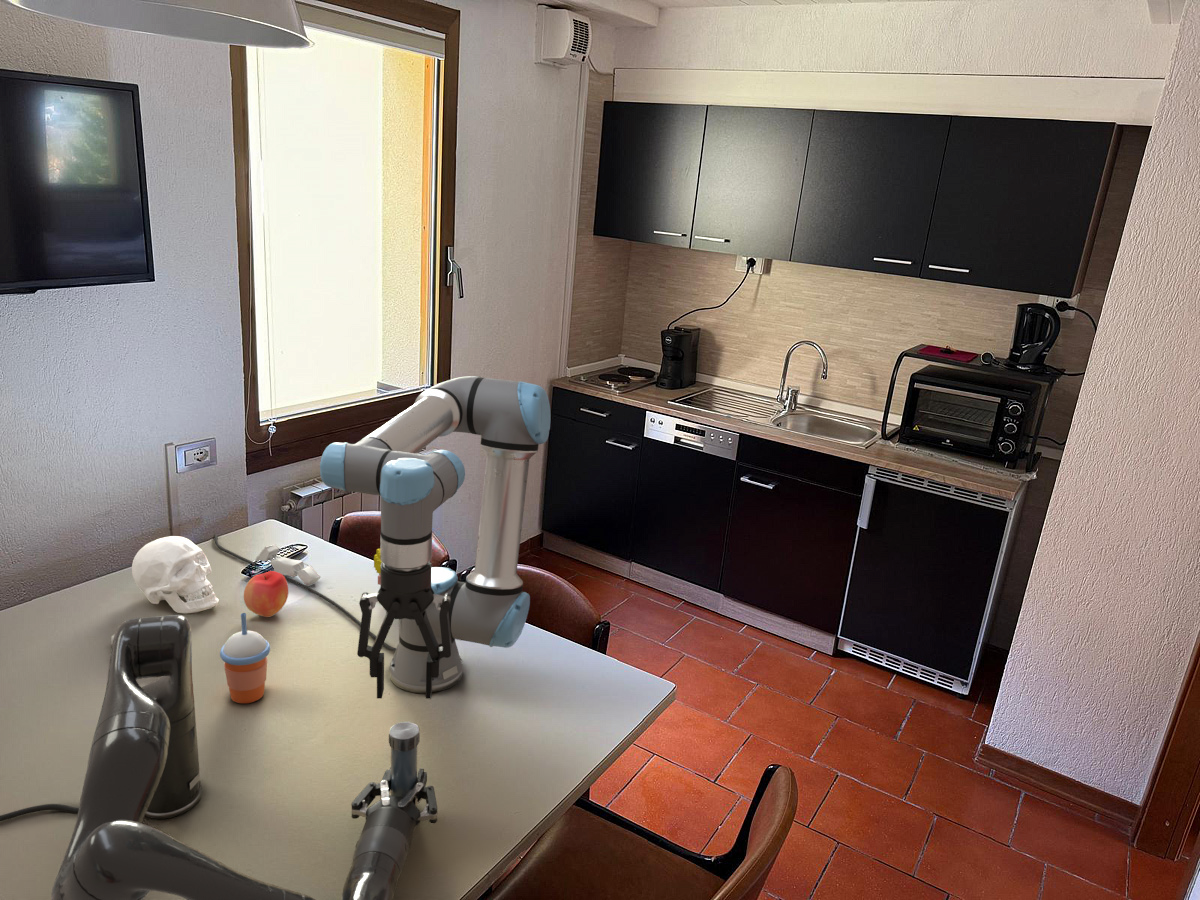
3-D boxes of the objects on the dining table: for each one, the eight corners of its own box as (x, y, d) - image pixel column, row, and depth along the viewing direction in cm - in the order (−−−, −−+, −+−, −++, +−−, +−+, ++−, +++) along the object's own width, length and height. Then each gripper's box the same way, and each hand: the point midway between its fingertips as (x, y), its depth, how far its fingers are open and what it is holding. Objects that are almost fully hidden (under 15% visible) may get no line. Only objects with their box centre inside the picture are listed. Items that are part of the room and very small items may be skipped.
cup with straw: (255, 711, 165) (250, 629, 160) (212, 703, 167) (207, 621, 161) (281, 686, 174) (278, 607, 168) (240, 678, 175) (236, 599, 170)
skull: (197, 623, 194) (195, 558, 190) (119, 603, 200) (115, 540, 196) (237, 600, 207) (236, 539, 203) (163, 582, 212) (160, 522, 208)
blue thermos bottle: (389, 807, 143) (389, 726, 139) (414, 803, 145) (415, 723, 140) (391, 825, 140) (392, 742, 135) (417, 820, 141) (419, 738, 136)
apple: (273, 600, 207) (272, 562, 204) (297, 613, 202) (296, 575, 199) (237, 614, 200) (234, 575, 197) (261, 628, 194) (259, 588, 191)
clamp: (253, 565, 223) (254, 542, 221) (265, 560, 226) (266, 537, 224) (309, 593, 215) (310, 569, 213) (320, 588, 218) (321, 564, 216)
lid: (387, 735, 139) (387, 723, 139) (417, 731, 141) (417, 719, 140) (390, 753, 135) (390, 741, 134) (421, 749, 137) (421, 737, 136)
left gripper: (334, 865, 128) (365, 787, 144) (430, 871, 128) (449, 793, 144) (334, 823, 125) (364, 750, 142) (431, 830, 126) (450, 755, 142)
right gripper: (473, 552, 133) (468, 680, 140) (342, 549, 131) (344, 680, 138) (471, 573, 126) (466, 707, 133) (334, 570, 124) (336, 707, 130)
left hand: (407, 772), depth 143 cm, fingers closed on blue thermos bottle, 4 cm apart
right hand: (404, 693), depth 135 cm, fingers open, 7 cm apart
